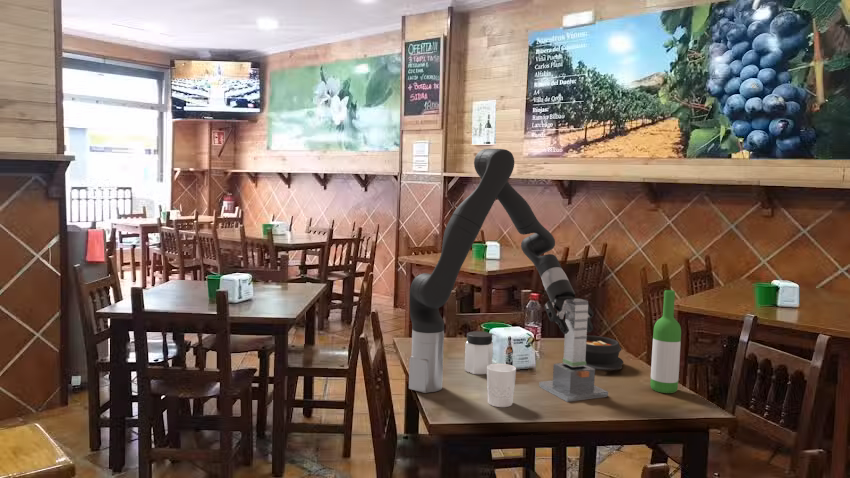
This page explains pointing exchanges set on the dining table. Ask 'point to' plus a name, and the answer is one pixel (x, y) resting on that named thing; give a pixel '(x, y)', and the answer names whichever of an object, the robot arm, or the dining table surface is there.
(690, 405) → the dining table surface
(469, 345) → the jar
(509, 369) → the white cup
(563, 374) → the stand base
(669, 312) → the wine bottle
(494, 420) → the dining table surface
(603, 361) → the casserole
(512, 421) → the dining table surface
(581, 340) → the column
